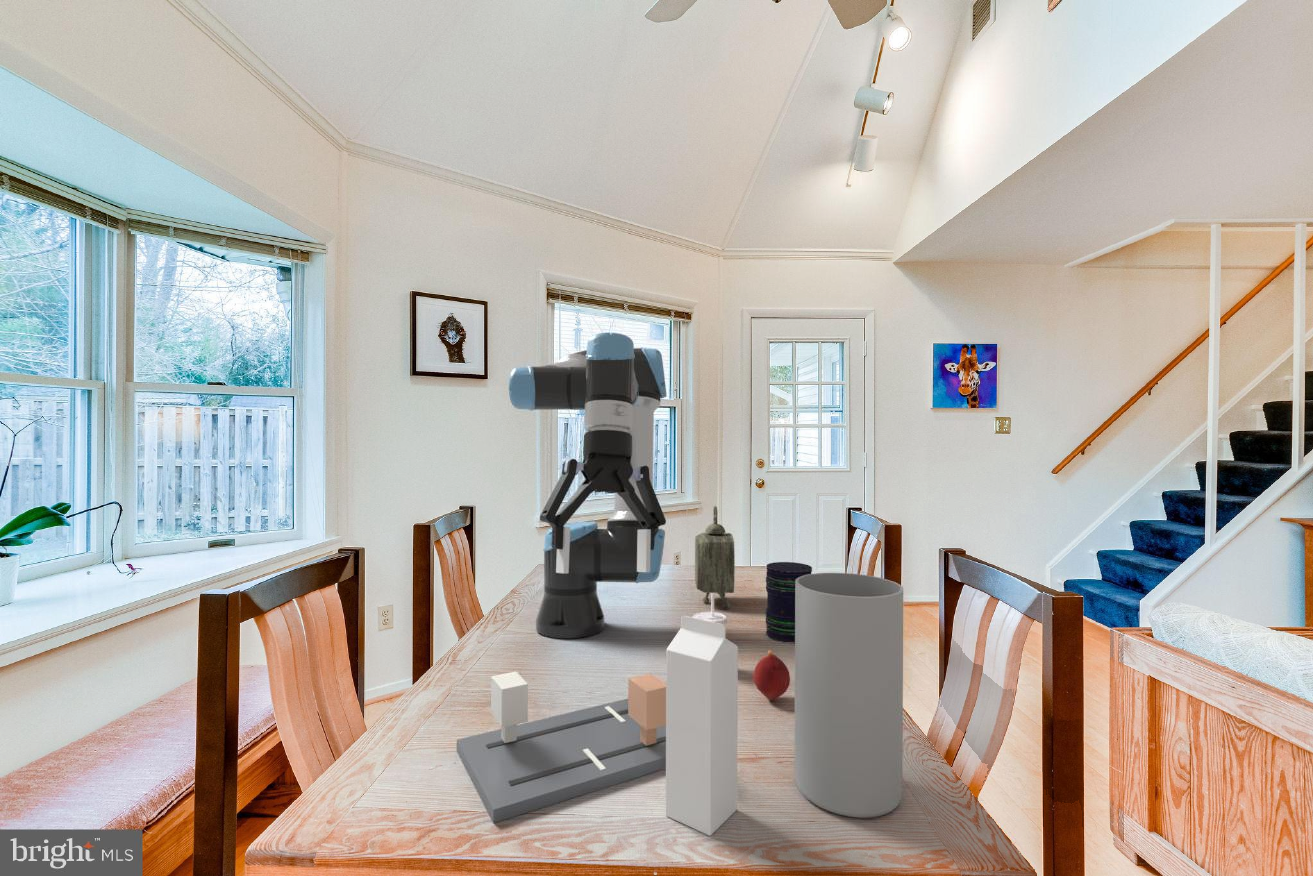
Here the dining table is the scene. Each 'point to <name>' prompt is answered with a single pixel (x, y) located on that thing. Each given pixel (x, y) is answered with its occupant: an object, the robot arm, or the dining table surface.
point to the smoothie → (711, 614)
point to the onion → (771, 676)
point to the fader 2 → (647, 705)
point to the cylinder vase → (849, 692)
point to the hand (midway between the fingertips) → (604, 572)
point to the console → (559, 759)
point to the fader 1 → (509, 703)
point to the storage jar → (782, 599)
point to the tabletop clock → (715, 561)
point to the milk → (701, 725)
